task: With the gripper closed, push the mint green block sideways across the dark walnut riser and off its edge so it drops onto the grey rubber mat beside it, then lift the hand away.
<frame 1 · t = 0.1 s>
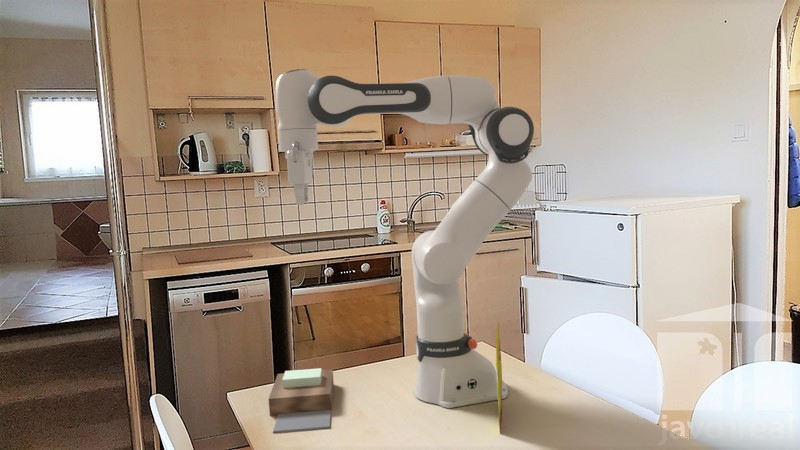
hand: (302, 203, 131), 48 cm above the table, tool pointing down, fingers open, 8 cm apart
mint green block: (302, 381, 140), point 4 cm above the table, touching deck
mat: (303, 421, 126), on the table
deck: (303, 399, 139), on the table
food package: (500, 418, 123), on the table
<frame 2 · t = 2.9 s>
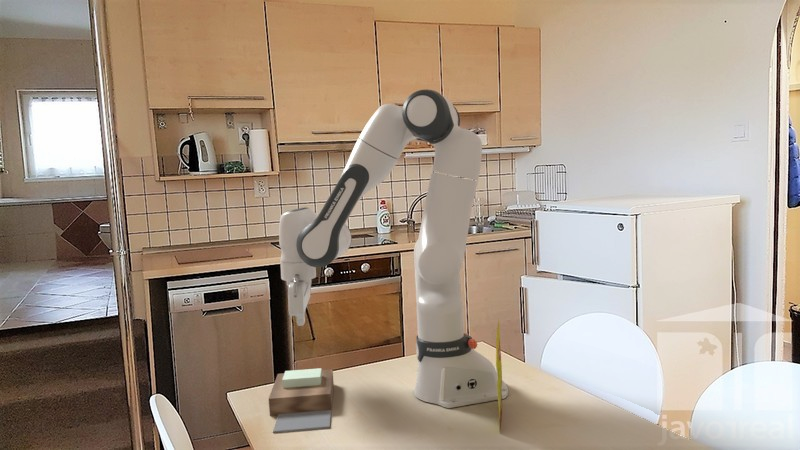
hand: (301, 324, 147), 16 cm above the table, tool pointing down, fingers closed
nothing on the table moved.
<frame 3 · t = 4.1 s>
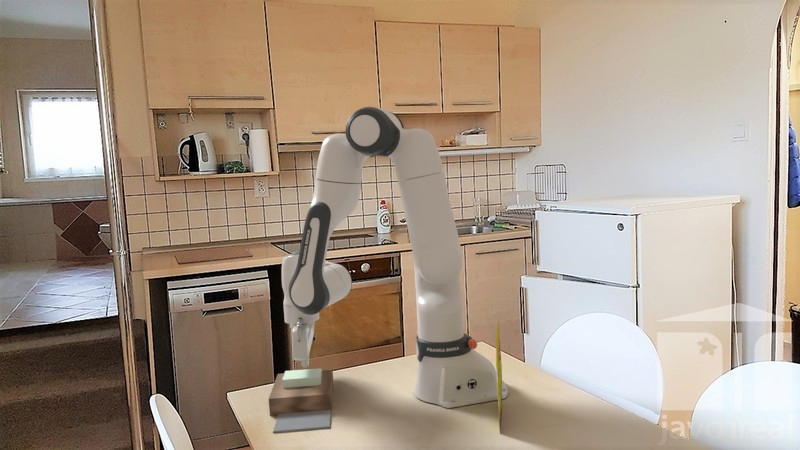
hand: (305, 365, 148), 5 cm above the table, tool pointing down, fingers closed
nothing on the table moved.
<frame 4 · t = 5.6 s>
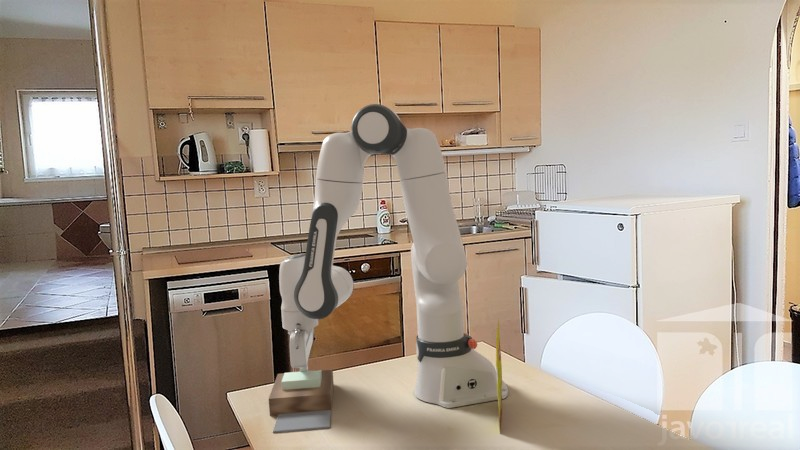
hand: (304, 372, 143), 5 cm above the table, tool pointing down, fingers closed
mint green block: (302, 383, 138), point 4 cm above the table
everything else where it was.
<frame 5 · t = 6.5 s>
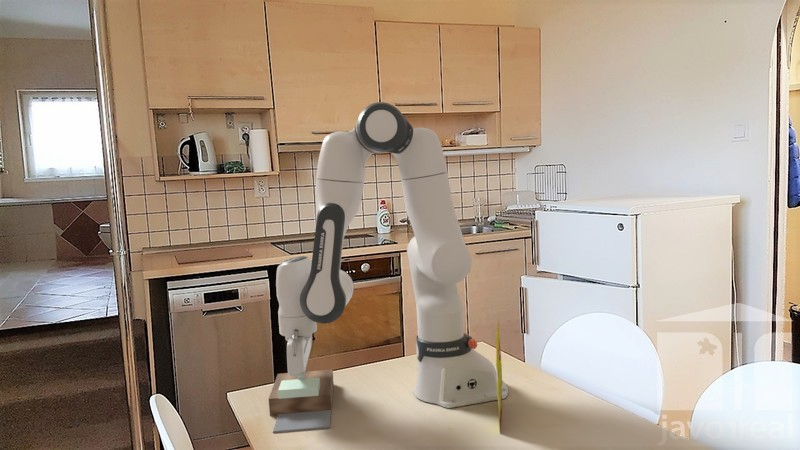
hand: (302, 380, 137), 5 cm above the table, tool pointing down, fingers closed
mint green block: (299, 392, 133), point 4 cm above the table, touching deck, gripper
everything else where it was.
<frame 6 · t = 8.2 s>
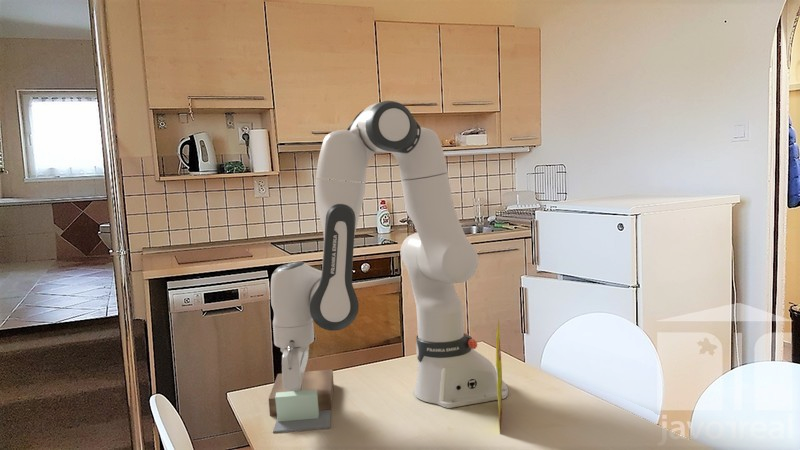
hand: (298, 394, 129), 5 cm above the table, tool pointing down, fingers closed
mint green block: (297, 402, 128), point 4 cm above the table, tilted 99°, touching gripper, mat
everything else where it was.
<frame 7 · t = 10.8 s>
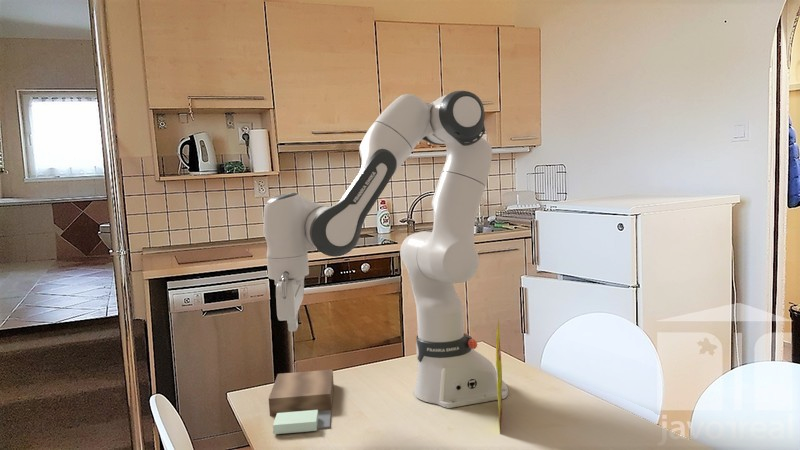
hand: (293, 329, 126), 21 cm above the table, tool pointing down, fingers closed
mint green block: (296, 417, 123), point 2 cm above the table, tilted 180°, touching mat
everything else where it was.
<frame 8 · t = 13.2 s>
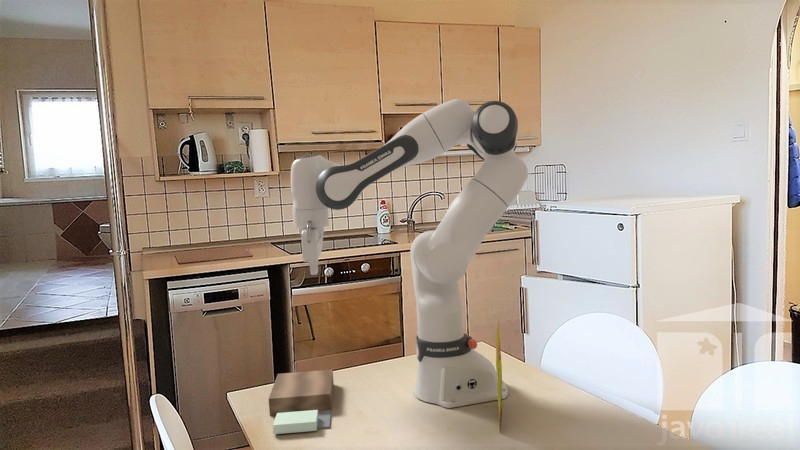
hand: (314, 273, 145), 29 cm above the table, tool pointing down, fingers closed
nothing on the table moved.
at the end: mint green block point 2.4 cm above the table; mint green block inside the target area (2.3 cm from its centre), point 2.4 cm above the table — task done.
